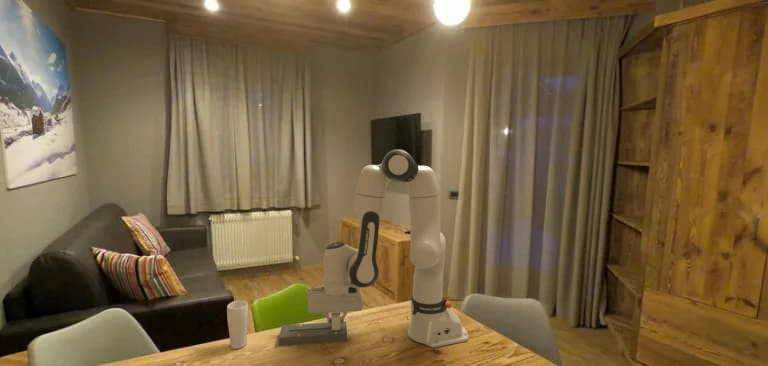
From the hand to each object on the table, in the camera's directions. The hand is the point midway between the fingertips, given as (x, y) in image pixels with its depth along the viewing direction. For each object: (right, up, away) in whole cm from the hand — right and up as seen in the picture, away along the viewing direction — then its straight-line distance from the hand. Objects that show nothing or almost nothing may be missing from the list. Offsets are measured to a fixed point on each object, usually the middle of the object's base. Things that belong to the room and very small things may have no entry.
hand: (335, 322), depth 134 cm
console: (-8, -5, -1) cm, 9 cm away
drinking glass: (-33, -6, -7) cm, 35 cm away
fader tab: (0, -2, 0) cm, 2 cm away
